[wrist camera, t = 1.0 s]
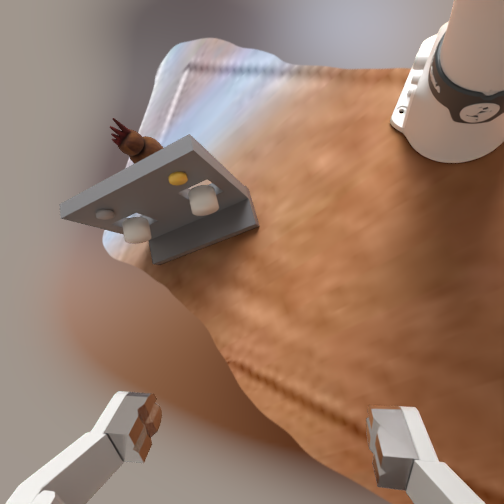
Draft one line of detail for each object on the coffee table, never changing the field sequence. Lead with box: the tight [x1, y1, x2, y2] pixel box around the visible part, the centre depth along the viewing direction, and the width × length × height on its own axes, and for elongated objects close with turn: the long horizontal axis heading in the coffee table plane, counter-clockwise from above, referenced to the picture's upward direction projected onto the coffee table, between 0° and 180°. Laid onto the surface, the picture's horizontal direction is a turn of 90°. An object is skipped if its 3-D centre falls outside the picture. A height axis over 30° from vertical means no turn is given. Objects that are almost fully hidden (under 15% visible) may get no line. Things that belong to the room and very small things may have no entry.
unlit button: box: [122, 217, 151, 244], centre depth 49 cm, size 3×4×4 cm
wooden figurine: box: [110, 118, 163, 164], centre depth 57 cm, size 7×6×15 cm
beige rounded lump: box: [188, 185, 219, 216], centre depth 45 cm, size 3×4×4 cm
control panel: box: [60, 134, 259, 265], centre depth 48 cm, size 8×24×21 cm, turn 106°
